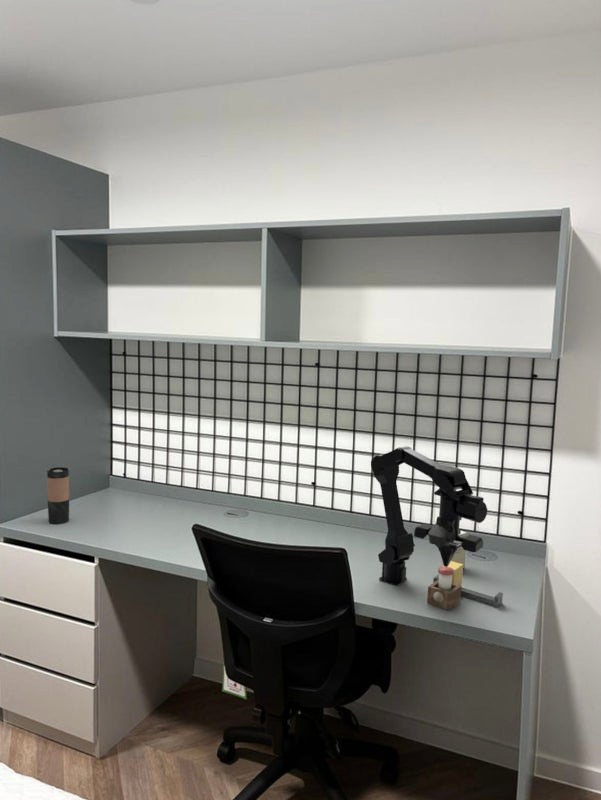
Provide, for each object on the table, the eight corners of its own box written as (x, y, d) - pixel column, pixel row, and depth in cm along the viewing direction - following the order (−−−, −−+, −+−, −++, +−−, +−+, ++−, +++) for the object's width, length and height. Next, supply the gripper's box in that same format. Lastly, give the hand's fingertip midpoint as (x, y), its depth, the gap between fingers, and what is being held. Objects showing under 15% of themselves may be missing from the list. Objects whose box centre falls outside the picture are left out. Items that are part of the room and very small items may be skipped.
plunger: (433, 592, 183) (435, 569, 182) (440, 587, 187) (442, 565, 186) (448, 596, 181) (449, 573, 180) (454, 591, 184) (456, 569, 183)
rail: (432, 587, 194) (433, 577, 194) (438, 584, 197) (438, 574, 196) (497, 608, 182) (498, 597, 181) (502, 603, 185) (502, 593, 184)
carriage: (440, 590, 191) (442, 566, 190) (449, 584, 196) (450, 560, 195) (452, 594, 189) (454, 570, 188) (461, 588, 193) (463, 564, 192)
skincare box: (452, 572, 206) (454, 535, 205) (441, 567, 210) (444, 531, 208) (465, 568, 210) (467, 532, 208) (454, 563, 213) (457, 528, 212)
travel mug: (72, 522, 242) (71, 470, 239) (52, 525, 237) (51, 473, 234) (65, 516, 248) (64, 466, 245) (45, 520, 243) (43, 468, 240)
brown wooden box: (426, 603, 183) (427, 586, 182) (438, 595, 189) (439, 578, 188) (449, 611, 179) (450, 594, 178) (460, 602, 185) (461, 585, 184)
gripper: (406, 512, 180) (403, 565, 182) (469, 527, 168) (465, 584, 171) (424, 503, 189) (421, 554, 191) (485, 518, 177) (481, 571, 179)
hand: (446, 566), depth 183 cm, fingers closed
